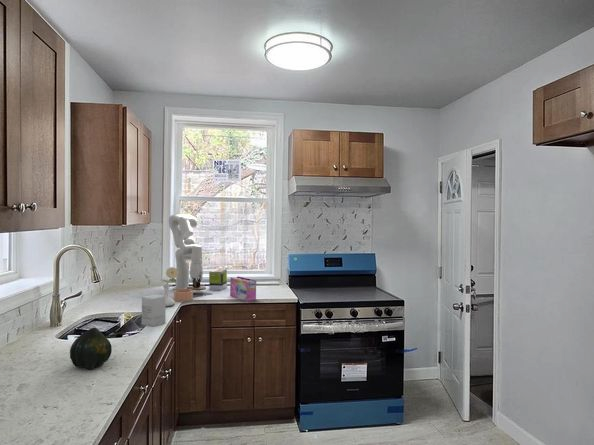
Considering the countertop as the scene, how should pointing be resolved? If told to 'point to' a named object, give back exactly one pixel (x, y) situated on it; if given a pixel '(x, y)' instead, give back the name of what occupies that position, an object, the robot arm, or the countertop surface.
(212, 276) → the tea box
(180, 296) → the bowl
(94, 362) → the squash
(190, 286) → the lid
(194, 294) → the mat
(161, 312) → the grey canister
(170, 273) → the flower in vase
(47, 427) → the countertop surface
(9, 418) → the countertop surface
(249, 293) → the gum box
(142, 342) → the countertop surface
